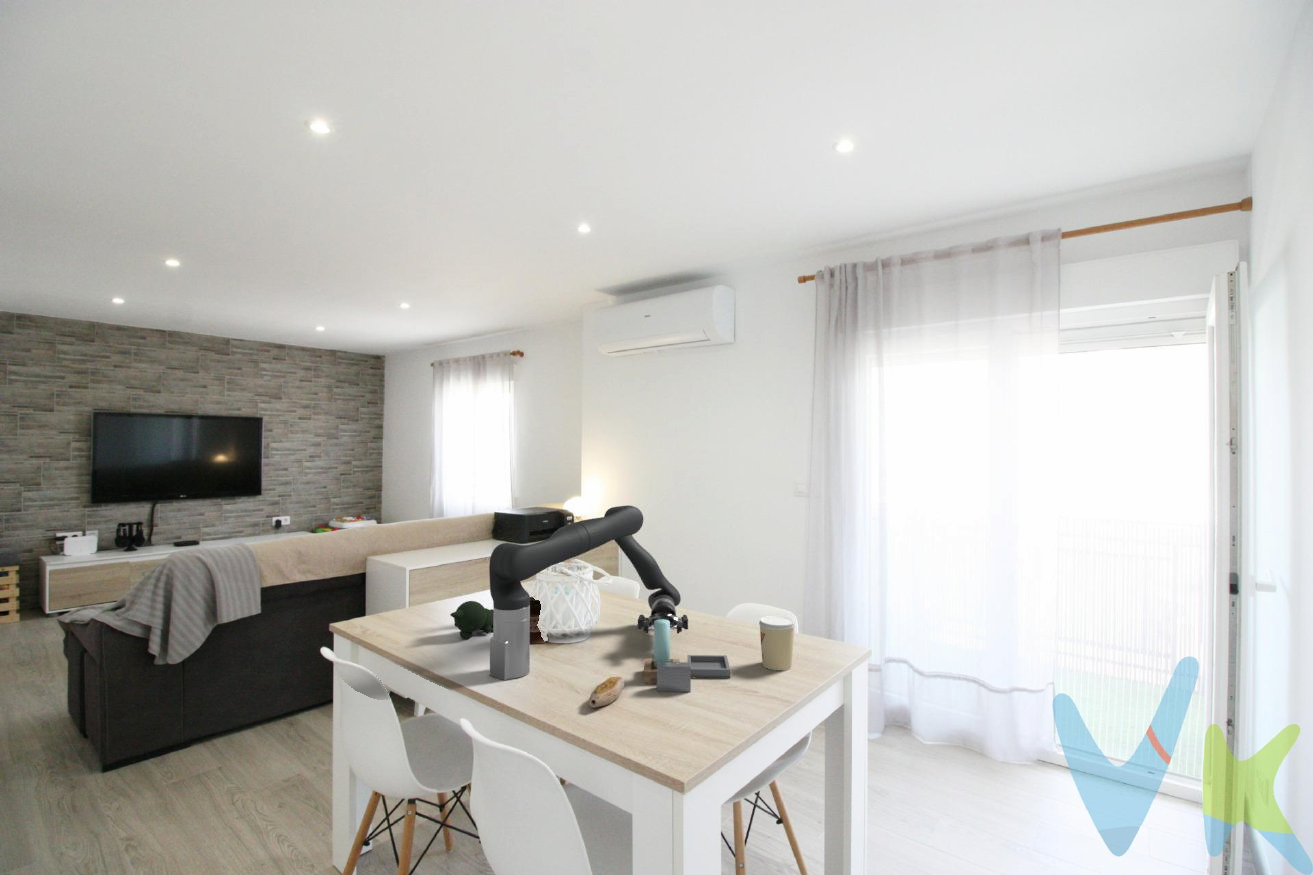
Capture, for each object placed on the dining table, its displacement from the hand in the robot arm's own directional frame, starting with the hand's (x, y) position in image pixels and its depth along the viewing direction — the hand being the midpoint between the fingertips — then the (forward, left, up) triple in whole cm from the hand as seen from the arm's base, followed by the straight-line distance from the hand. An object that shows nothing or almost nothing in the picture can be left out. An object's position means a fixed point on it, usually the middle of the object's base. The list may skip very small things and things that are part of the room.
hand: (662, 629), depth 164 cm
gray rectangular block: (-14, -13, -9) cm, 21 cm away
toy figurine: (-13, +61, -9) cm, 63 cm away
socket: (-9, -6, -9) cm, 14 cm away
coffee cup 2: (+16, -26, -9) cm, 32 cm away
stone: (-28, -4, -9) cm, 30 cm away
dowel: (-9, -6, -9) cm, 14 cm away
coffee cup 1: (-8, +41, -9) cm, 42 cm away
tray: (+2, -13, -9) cm, 16 cm away
